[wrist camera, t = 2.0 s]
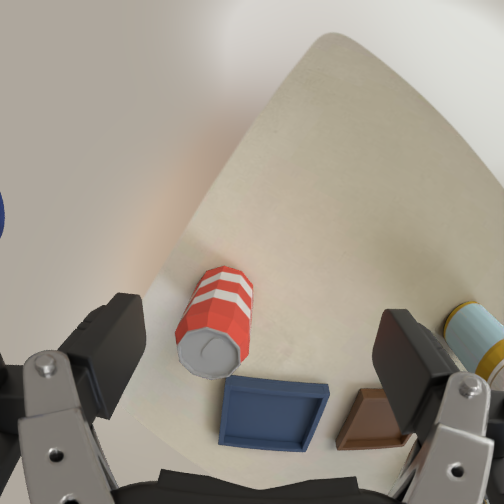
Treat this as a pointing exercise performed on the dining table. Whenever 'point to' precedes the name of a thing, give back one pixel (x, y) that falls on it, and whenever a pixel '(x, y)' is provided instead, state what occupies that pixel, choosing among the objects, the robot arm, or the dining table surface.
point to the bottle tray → (370, 424)
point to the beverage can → (216, 324)
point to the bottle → (477, 342)
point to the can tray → (270, 413)
